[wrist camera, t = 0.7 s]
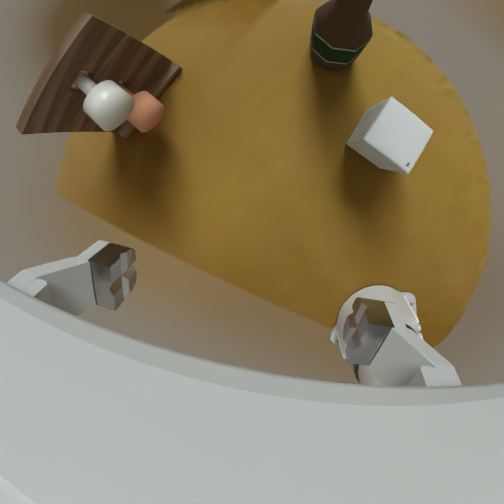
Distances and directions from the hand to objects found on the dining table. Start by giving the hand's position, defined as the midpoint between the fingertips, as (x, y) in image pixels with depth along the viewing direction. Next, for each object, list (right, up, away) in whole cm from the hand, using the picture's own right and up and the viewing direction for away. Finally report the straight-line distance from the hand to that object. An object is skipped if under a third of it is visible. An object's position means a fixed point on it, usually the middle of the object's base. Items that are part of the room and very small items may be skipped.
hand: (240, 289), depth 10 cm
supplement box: (+20, +20, +30) cm, 41 cm away
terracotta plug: (-17, +24, +27) cm, 40 cm away
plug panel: (-19, +29, +32) cm, 48 cm away
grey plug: (-18, +21, +18) cm, 33 cm away
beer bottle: (+13, +34, +26) cm, 45 cm away
